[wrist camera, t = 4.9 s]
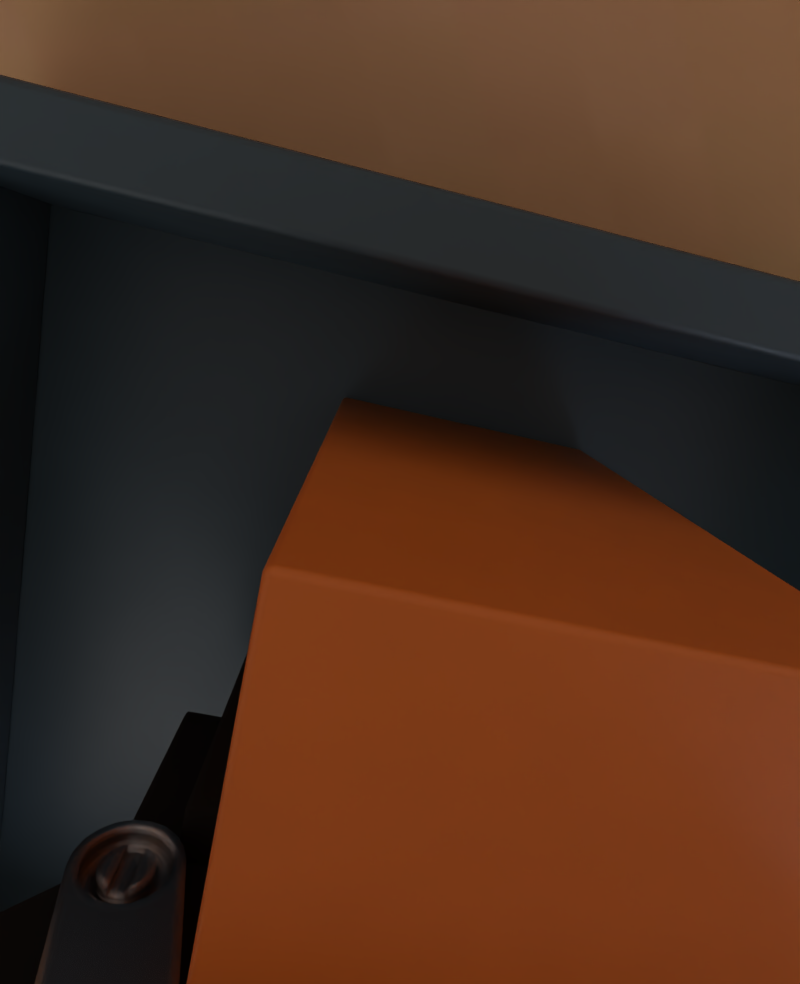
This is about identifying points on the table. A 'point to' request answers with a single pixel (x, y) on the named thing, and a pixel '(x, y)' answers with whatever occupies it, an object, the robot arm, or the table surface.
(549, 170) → the table surface
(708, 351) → the bin
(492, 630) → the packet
